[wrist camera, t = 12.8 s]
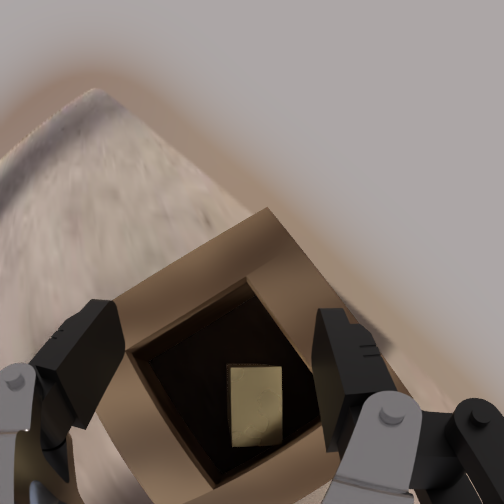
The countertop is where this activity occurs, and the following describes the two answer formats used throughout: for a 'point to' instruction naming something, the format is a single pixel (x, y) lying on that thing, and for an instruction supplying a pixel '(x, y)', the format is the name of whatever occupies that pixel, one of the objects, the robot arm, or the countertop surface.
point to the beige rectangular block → (254, 404)
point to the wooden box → (188, 323)
